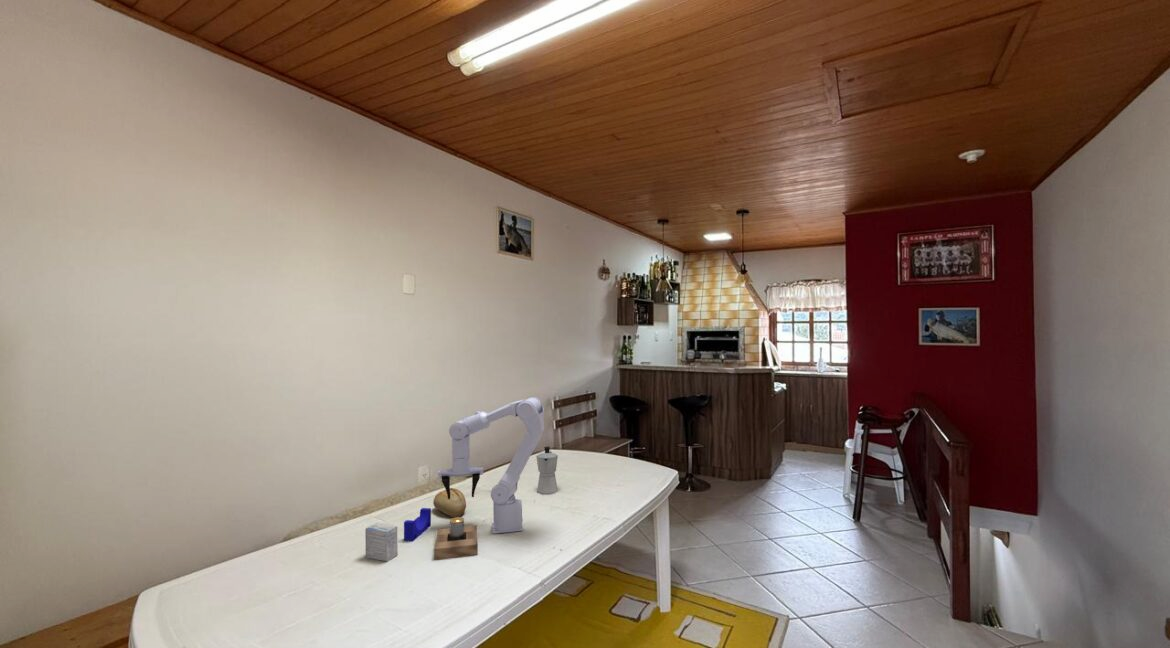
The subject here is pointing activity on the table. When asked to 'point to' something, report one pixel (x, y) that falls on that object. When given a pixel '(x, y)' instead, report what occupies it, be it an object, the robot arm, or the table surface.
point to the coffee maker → (547, 472)
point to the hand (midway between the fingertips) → (461, 497)
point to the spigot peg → (456, 529)
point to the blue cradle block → (417, 525)
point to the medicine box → (381, 541)
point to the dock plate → (456, 544)
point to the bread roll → (450, 502)
